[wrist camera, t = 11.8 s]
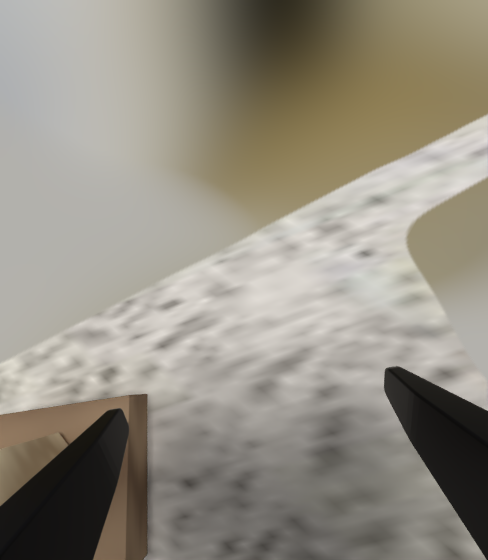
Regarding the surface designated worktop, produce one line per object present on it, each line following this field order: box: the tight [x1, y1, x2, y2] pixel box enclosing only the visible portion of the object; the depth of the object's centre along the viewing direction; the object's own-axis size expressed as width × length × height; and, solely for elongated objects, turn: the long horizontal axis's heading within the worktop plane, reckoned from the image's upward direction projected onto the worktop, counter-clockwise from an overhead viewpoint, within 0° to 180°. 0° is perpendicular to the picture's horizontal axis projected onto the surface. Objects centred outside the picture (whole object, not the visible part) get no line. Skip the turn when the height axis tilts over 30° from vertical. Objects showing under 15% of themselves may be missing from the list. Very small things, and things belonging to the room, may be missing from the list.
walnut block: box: [0, 394, 147, 560], centre depth 19 cm, size 10×10×4 cm
